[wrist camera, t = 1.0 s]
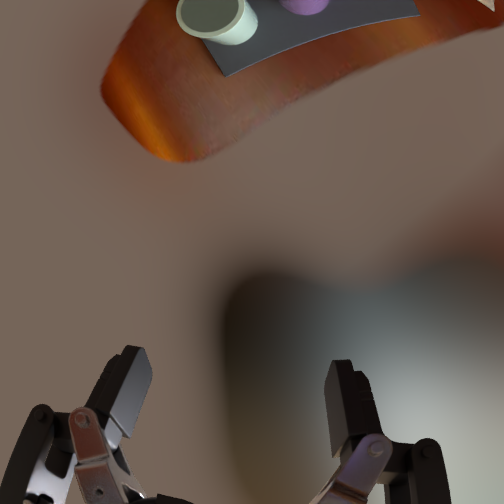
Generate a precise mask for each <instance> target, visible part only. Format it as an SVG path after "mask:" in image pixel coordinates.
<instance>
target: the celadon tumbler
mask: <svg viewBox="0 0 504 504" xmlns="http://www.w3.org/2000/svg"><path fill="white" fill-rule="evenodd" d="M176 17H177V21H178V23H179V25H180V27H181V28H182V29H183V30H184V31H185V32H187V33H188V34H190V35H193V36H196V37H199V38H203V39H206V40H210V41H213V42H216V43H219V44H223V45H237V44H240V43H243V42H245V41H247V40H248V39H249V38H250V37H252V35H253V34H254V33H255V31H256V29H257V25H258V19H257V16H256V13H255V12H254V10H253V9H252V7H251V6H250V4H249V3H248V2H247V0H180V1H179V3H178V5H177V9H176Z"/></svg>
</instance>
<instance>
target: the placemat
mask: <svg viewBox="0 0 504 504" xmlns="http://www.w3.org/2000/svg"><path fill="white" fill-rule="evenodd" d="M247 2H248V3H249V4H250V6H251V7H252V9H253V10H254V12H255V13H256V16H257V19H258V25H257V29H256V31H255V33H254V34H253V35H252V37H250V38H249V39H248V40H247V41H245V42H243V43H240V44H237V45H223V44H219V43H216V42H213V41H210V40H206V39H203V38H201V39H202V41H203V42H204V44H205V45H206V47H207V49H208V50H209V52H210V53H211V55H212V56H213V58H214V60H215V61H216V63H217V64H218V66H219V68H220V69H221V71H222V73H223V74H224V76H225V77H228V76H230V75H232V74H234V73H236V72H238V71H240V70H242V69H244V68H246V67H248V66H251V65H253V64H255V63H257V62H259V61H261V60H264V59H266V58H268V57H270V56H273V55H275V54H278V53H280V52H282V51H285V50H287V49H290V48H293V47H295V46H298V45H301V44H303V43H306V42H309V41H312V40H315V39H318V38H321V37H324V36H327V35H330V34H334V33H337V32H341V31H344V30H348V29H352V28H356V27H360V26H364V25H368V24H373V23H378V22H383V21H388V20H394V19H400V18H407V17H414V16H420V13H419V11H418V9H417V7H416V5H415V4H414V2H413V0H330V2H329V3H328V5H327V7H326V8H325V9H324V10H322V11H321V12H319V13H316V14H313V15H299V14H295V13H292V12H290V11H288V10H286V9H285V8H284V7H282V6H281V5H280V3H279V2H278V0H247Z"/></svg>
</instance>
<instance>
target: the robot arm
mask: <svg viewBox="0 0 504 504" xmlns="http://www.w3.org/2000/svg"><path fill="white" fill-rule="evenodd" d="M151 380H152V368H151V366H150V363H149V360H148V357H147V355H146V352H145V349H144V348H142V347H137V346H131V345H127V346H126V347H125V348H124V350H123V352H122V353H121V355H117V354H116V355H115V356H114V357H113V358H112V359H110V360H109V361H108V363H107V365H106V366H105V368H104V371H103V372H102V374H101V376H100V379H98V381H97V383H96V385H95V387H94V389H93V391H92V393H91V395H90V397H89V399H88V401H87V403H86V405H85V406H84V407H79V408H77V409H75V410H74V411H72V413H62V412H54V411H53V410H52V409H51V408H50V407H49V406H48V405H45V404H39V405H37V406H35V407H34V408H33V409H32V411H31V412H30V414H29V417H28V418H27V421H26V423H25V425H24V427H23V429H22V431H21V434H20V436H19V438H18V441H17V443H16V445H15V448H14V450H13V453H12V455H11V458H10V460H9V463H8V466H7V468H6V471H5V474H4V477H3V480H2V483H1V486H0V504H65V501H66V498H67V494H68V490H69V487H70V483H71V480H72V476H73V473H74V472H75V475H76V479H77V481H78V485H79V487H80V491H81V493H82V496H83V499H84V501H85V504H193V503H191V502H188V501H186V500H183V499H178V498H173V497H170V496H165V495H161V494H157V497H150V498H148V497H147V495H146V493H145V491H144V490H143V488H142V486H141V485H140V484H139V482H138V481H137V480H136V478H135V476H134V474H133V472H132V470H131V468H130V466H129V463H128V461H127V459H126V456H125V454H124V451H123V449H122V446H121V444H120V440H121V437H122V436H123V437H126V438H129V439H130V438H131V435H132V432H133V429H134V426H135V423H136V421H137V418H138V415H139V412H140V410H141V407H142V404H143V401H144V399H145V396H146V394H147V391H148V388H149V386H150V383H151ZM324 395H325V401H326V409H327V417H328V425H329V433H330V442H331V451H332V458H336V457H340V462H341V464H340V466H339V467H338V469H337V470H336V471H335V473H334V474H333V475H332V477H331V478H330V479H329V481H328V482H327V483H326V484H325V486H324V487H323V488H322V490H321V491H320V492H319V493H318V494H317V496H316V497H315V498H314V499H313V500H312V501H311V502H310V503H309V504H367V501H368V500H367V497H368V495H369V493H370V492H371V490H372V488H373V487H374V485H375V484H376V483H377V484H384V492H385V504H451V497H450V490H449V484H448V479H447V474H446V469H445V464H444V459H443V455H442V451H441V447H440V445H439V444H438V443H437V441H435V440H433V439H430V438H425V439H421V440H419V441H418V442H417V443H415V444H408V443H398V442H394V441H391V440H390V439H389V438H388V437H386V436H385V435H384V433H383V431H382V429H381V425H380V421H379V417H378V413H377V409H376V405H375V401H374V400H373V399H374V398H373V394H372V392H371V387H370V383H369V380H368V379H367V377H366V376H365V375H364V373H363V372H362V371H354V370H353V366H352V362H351V361H350V360H348V359H347V360H332V362H331V365H330V368H329V371H328V375H327V377H326V380H325V386H324ZM51 444H52V445H51ZM50 447H51V448H50ZM49 449H50V450H49ZM48 452H49V453H48ZM47 455H48V456H47ZM46 457H47V458H46ZM45 460H46V461H45Z"/></svg>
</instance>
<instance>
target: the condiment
mask: <svg viewBox="0 0 504 504" xmlns="http://www.w3.org/2000/svg"><path fill="white" fill-rule="evenodd" d="M478 1H480V2H481V3H483V4H484V5H486V6H487V7H489V8H490V9H491V10H493V11H494V0H478Z"/></svg>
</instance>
